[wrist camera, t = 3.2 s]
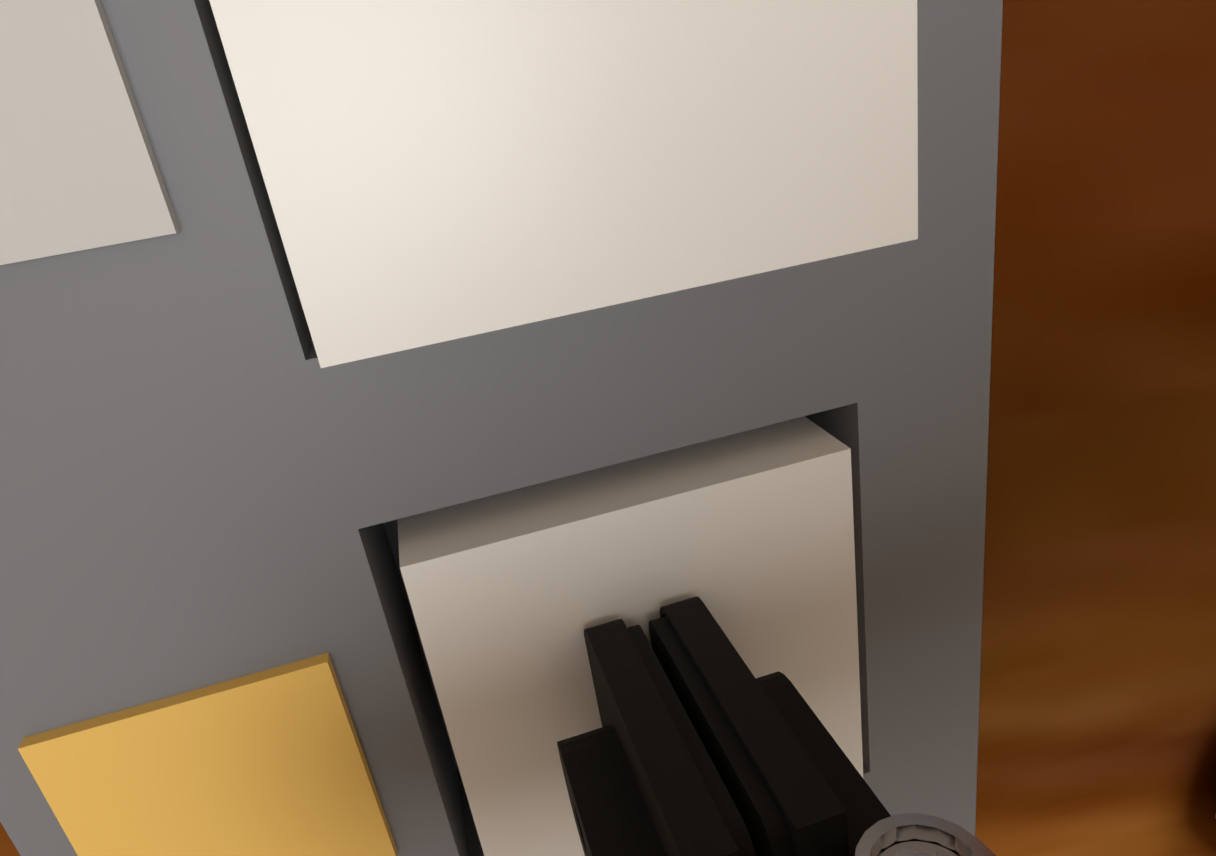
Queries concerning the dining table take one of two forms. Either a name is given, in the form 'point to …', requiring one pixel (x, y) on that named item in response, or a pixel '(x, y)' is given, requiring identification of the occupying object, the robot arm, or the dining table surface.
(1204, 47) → the dining table surface
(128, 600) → the button panel
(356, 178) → the middle button
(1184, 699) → the dining table surface
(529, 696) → the end button
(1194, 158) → the dining table surface
